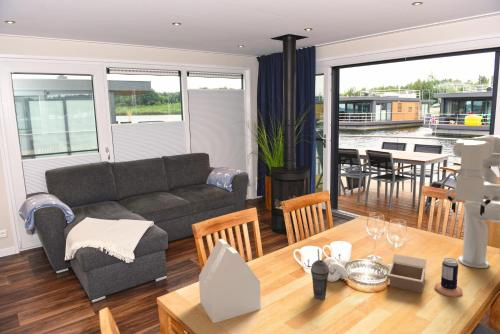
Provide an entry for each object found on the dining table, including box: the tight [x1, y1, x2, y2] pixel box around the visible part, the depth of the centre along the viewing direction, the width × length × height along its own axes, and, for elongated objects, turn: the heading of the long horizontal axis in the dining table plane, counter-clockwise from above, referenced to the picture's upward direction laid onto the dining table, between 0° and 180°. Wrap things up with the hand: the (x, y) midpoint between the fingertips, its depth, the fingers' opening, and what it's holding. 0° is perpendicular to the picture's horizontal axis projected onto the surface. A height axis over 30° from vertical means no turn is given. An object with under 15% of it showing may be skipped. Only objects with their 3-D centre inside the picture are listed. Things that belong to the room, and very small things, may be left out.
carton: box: [385, 253, 427, 293], centre depth 154 cm, size 23×14×7 cm, turn 150°
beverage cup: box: [310, 249, 329, 301], centre depth 143 cm, size 7×7×20 cm
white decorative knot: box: [323, 257, 350, 282], centre depth 158 cm, size 11×12×9 cm
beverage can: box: [440, 257, 459, 290], centre depth 146 cm, size 6×6×12 cm
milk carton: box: [198, 238, 262, 324], centre depth 138 cm, size 19×15×25 cm
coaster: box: [434, 281, 463, 298], centre depth 147 cm, size 10×10×1 cm
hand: (467, 213), depth 150 cm, fingers open, 9 cm apart
